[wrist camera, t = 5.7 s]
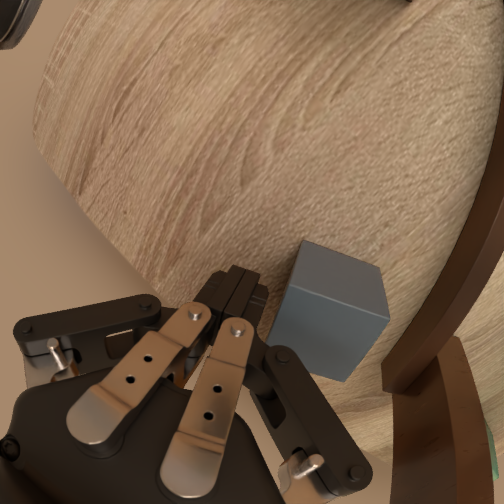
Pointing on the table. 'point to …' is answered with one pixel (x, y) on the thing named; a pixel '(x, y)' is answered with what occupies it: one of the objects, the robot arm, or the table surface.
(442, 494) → the end post
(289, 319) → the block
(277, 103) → the table surface
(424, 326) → the rail
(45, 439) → the robot arm
